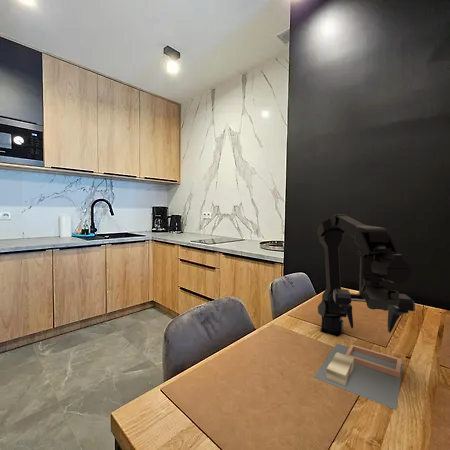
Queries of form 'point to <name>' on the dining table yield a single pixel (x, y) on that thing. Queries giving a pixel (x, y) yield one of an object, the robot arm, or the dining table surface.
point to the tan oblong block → (340, 368)
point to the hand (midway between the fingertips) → (370, 329)
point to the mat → (366, 379)
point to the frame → (374, 365)
